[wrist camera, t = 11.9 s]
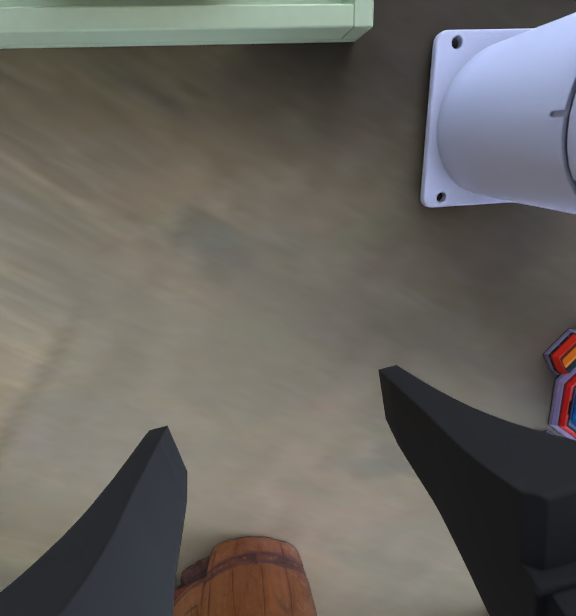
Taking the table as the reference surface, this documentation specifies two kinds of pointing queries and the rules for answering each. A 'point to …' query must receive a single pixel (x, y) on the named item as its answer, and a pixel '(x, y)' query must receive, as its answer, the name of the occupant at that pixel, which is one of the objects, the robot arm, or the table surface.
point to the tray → (180, 22)
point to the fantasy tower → (563, 384)
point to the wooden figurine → (246, 581)
